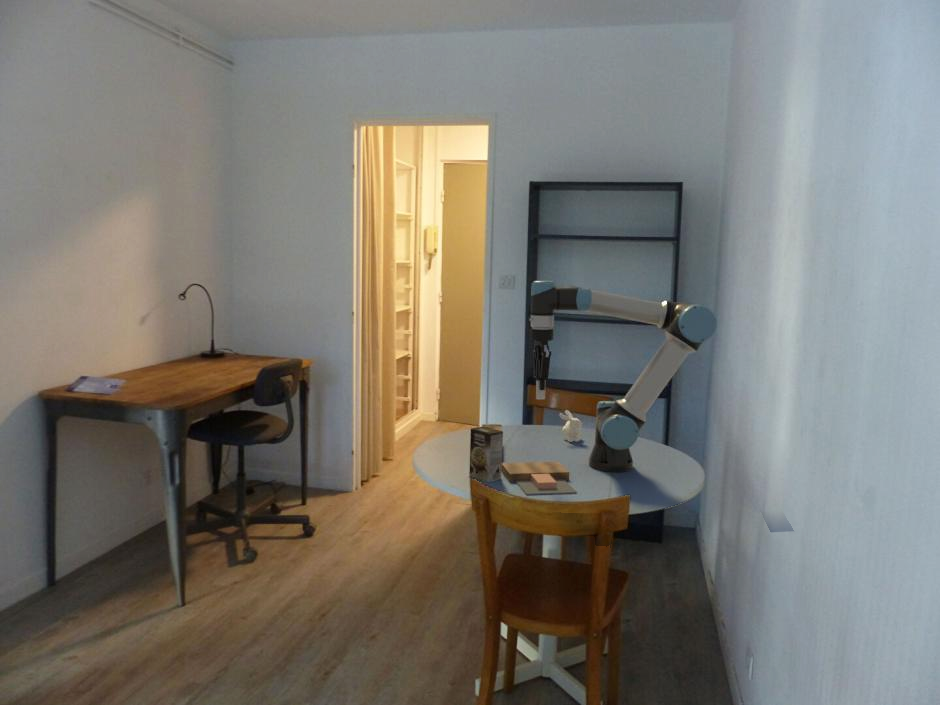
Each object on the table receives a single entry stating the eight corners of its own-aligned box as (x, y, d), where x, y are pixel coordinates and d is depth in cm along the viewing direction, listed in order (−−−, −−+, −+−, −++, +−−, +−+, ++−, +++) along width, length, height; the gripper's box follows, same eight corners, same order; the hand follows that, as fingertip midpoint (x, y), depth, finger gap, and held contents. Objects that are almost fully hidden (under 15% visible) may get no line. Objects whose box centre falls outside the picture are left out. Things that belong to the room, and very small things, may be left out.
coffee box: (468, 476, 228) (469, 428, 226) (482, 472, 233) (483, 425, 231) (488, 483, 222) (489, 433, 220) (502, 479, 226) (503, 430, 224)
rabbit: (582, 443, 275) (584, 413, 274) (558, 442, 276) (560, 413, 274) (579, 436, 287) (580, 407, 286) (556, 435, 288) (557, 406, 286)
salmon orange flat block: (530, 480, 225) (530, 474, 224) (548, 479, 226) (548, 473, 226) (537, 489, 216) (538, 482, 216) (556, 488, 217) (556, 482, 217)
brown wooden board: (557, 469, 239) (558, 461, 239) (569, 479, 227) (569, 472, 227) (501, 470, 236) (501, 463, 235) (509, 481, 224) (509, 473, 224)
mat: (563, 480, 227) (563, 479, 227) (576, 493, 214) (576, 492, 214) (515, 481, 224) (516, 480, 224) (526, 495, 211) (526, 493, 211)
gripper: (525, 326, 233) (524, 395, 236) (537, 330, 221) (535, 403, 224) (546, 326, 235) (545, 395, 238) (559, 329, 222) (557, 402, 225)
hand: (540, 399), depth 231 cm, fingers closed
